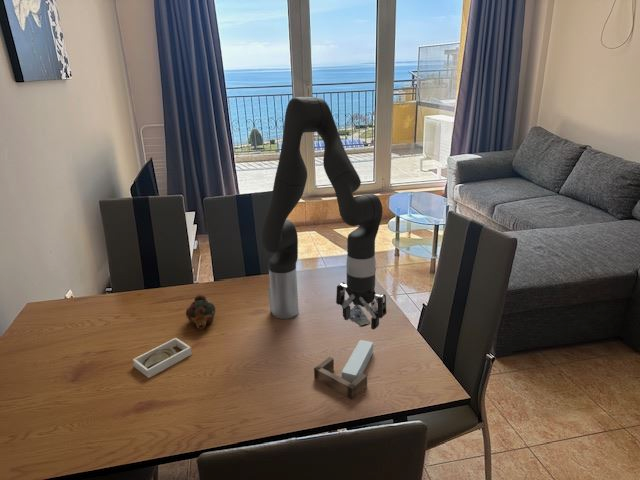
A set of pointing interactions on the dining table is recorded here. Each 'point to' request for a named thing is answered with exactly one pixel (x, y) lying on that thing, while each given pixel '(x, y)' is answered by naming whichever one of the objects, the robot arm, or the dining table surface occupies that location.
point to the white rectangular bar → (358, 361)
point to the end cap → (339, 379)
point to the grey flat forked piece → (358, 316)
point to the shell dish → (166, 363)
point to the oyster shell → (159, 356)
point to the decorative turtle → (200, 311)
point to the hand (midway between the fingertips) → (360, 323)
